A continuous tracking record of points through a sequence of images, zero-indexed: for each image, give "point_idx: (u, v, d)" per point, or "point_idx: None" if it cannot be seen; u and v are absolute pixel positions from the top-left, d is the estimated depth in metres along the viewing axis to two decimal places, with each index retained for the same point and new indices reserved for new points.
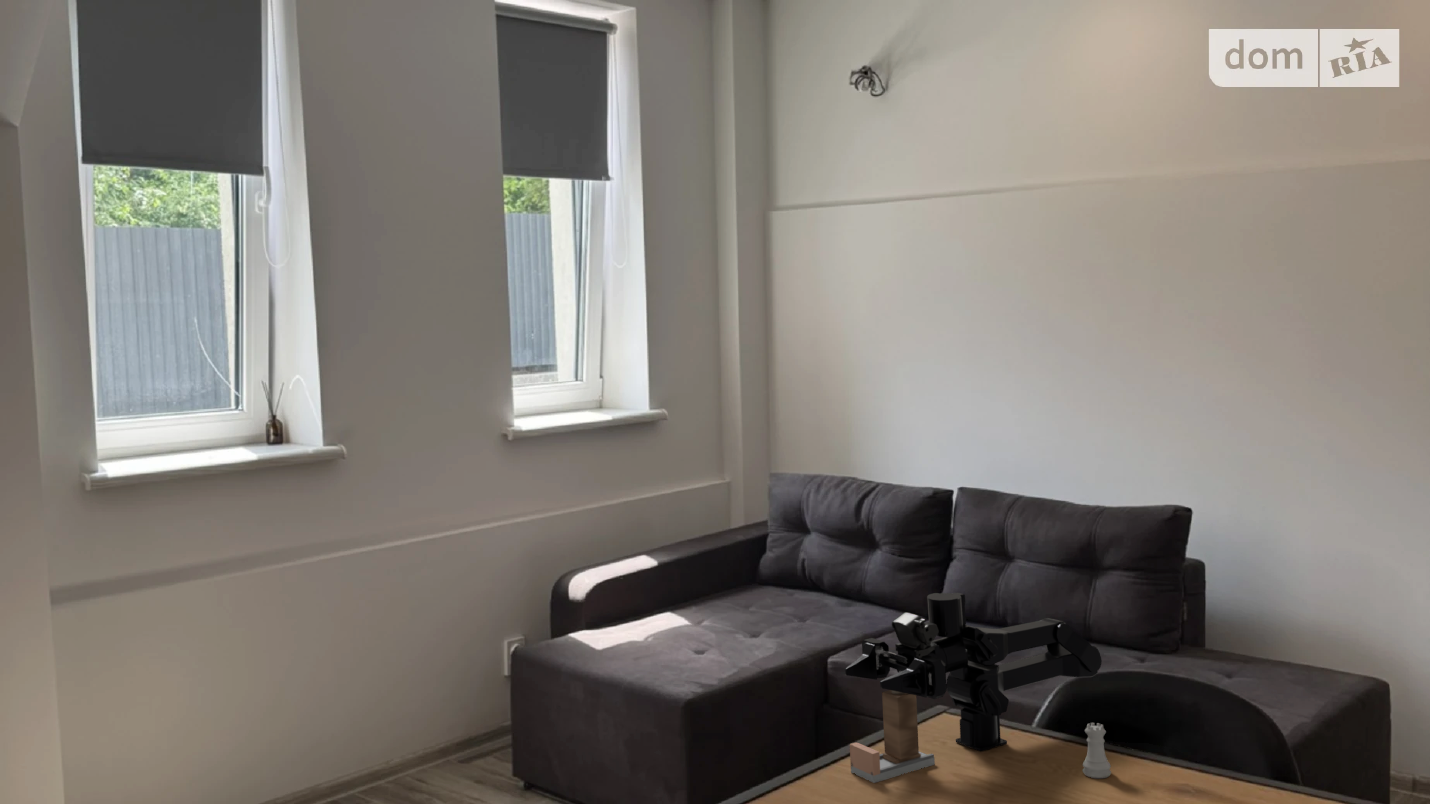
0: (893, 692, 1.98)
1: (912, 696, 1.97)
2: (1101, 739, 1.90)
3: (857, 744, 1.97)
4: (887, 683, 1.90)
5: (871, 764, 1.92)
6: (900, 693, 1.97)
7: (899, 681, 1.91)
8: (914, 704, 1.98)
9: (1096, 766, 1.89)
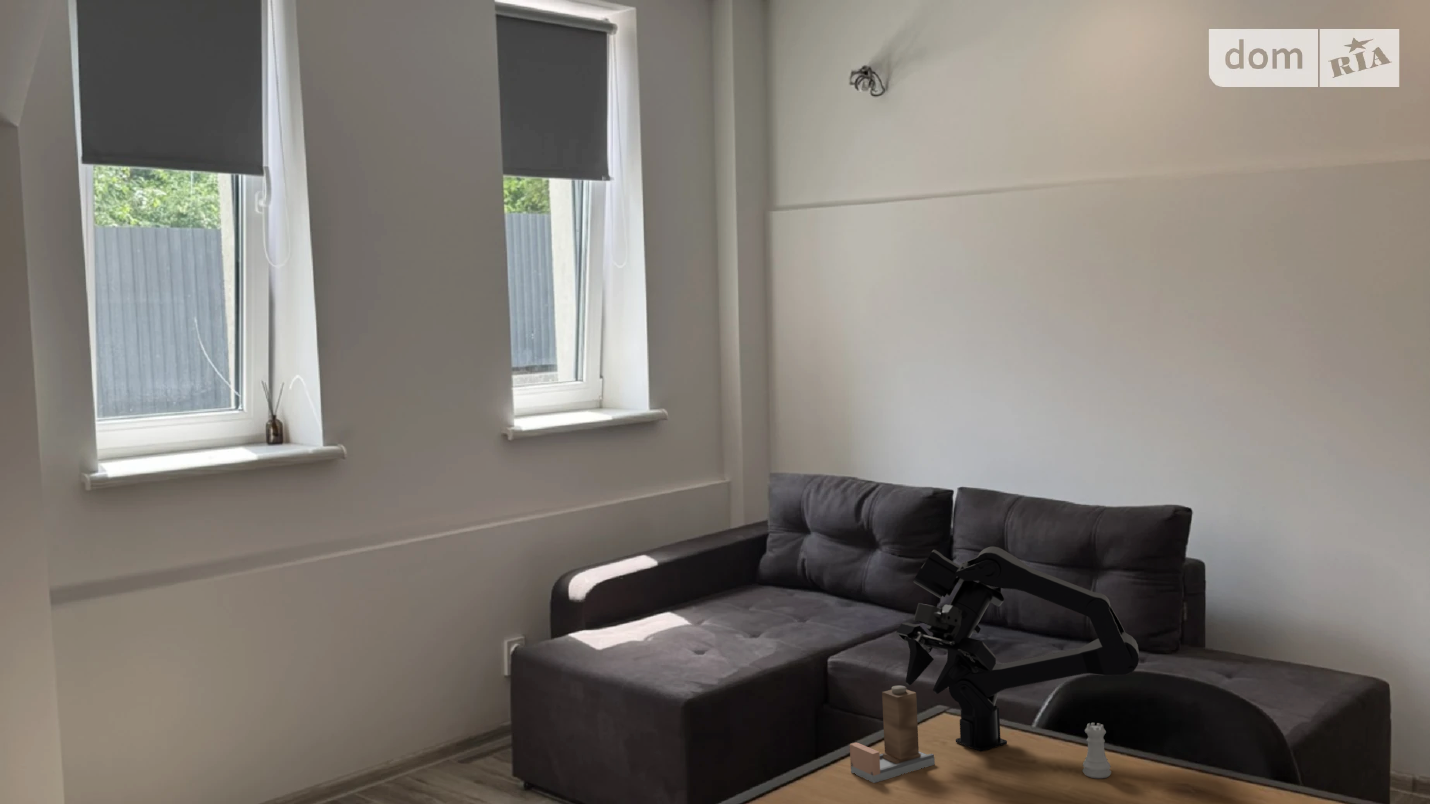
0: (893, 692, 1.98)
1: (912, 696, 1.97)
2: (1101, 739, 1.90)
3: (857, 744, 1.97)
4: (939, 687, 1.97)
5: (871, 764, 1.92)
6: (900, 693, 1.97)
7: (947, 678, 1.97)
8: (914, 704, 1.98)
9: (1096, 766, 1.89)
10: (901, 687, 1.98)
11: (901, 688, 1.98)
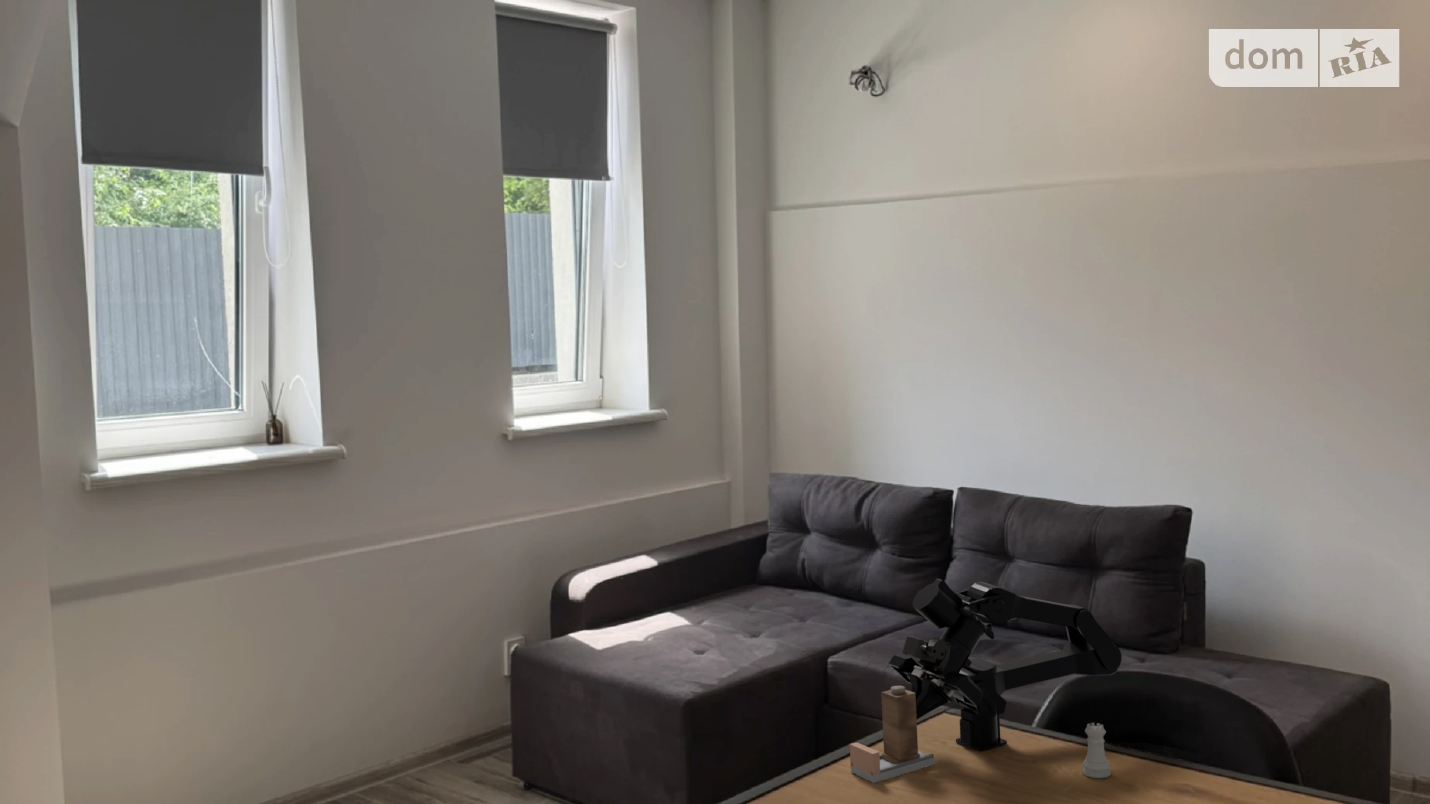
0: (892, 692, 1.98)
1: (911, 696, 1.97)
2: (1101, 739, 1.90)
3: (857, 744, 1.97)
4: None
5: (871, 764, 1.92)
6: (899, 693, 1.97)
7: (922, 707, 2.00)
8: (914, 704, 1.98)
9: (1096, 766, 1.89)
10: (900, 687, 1.98)
11: (900, 688, 1.98)
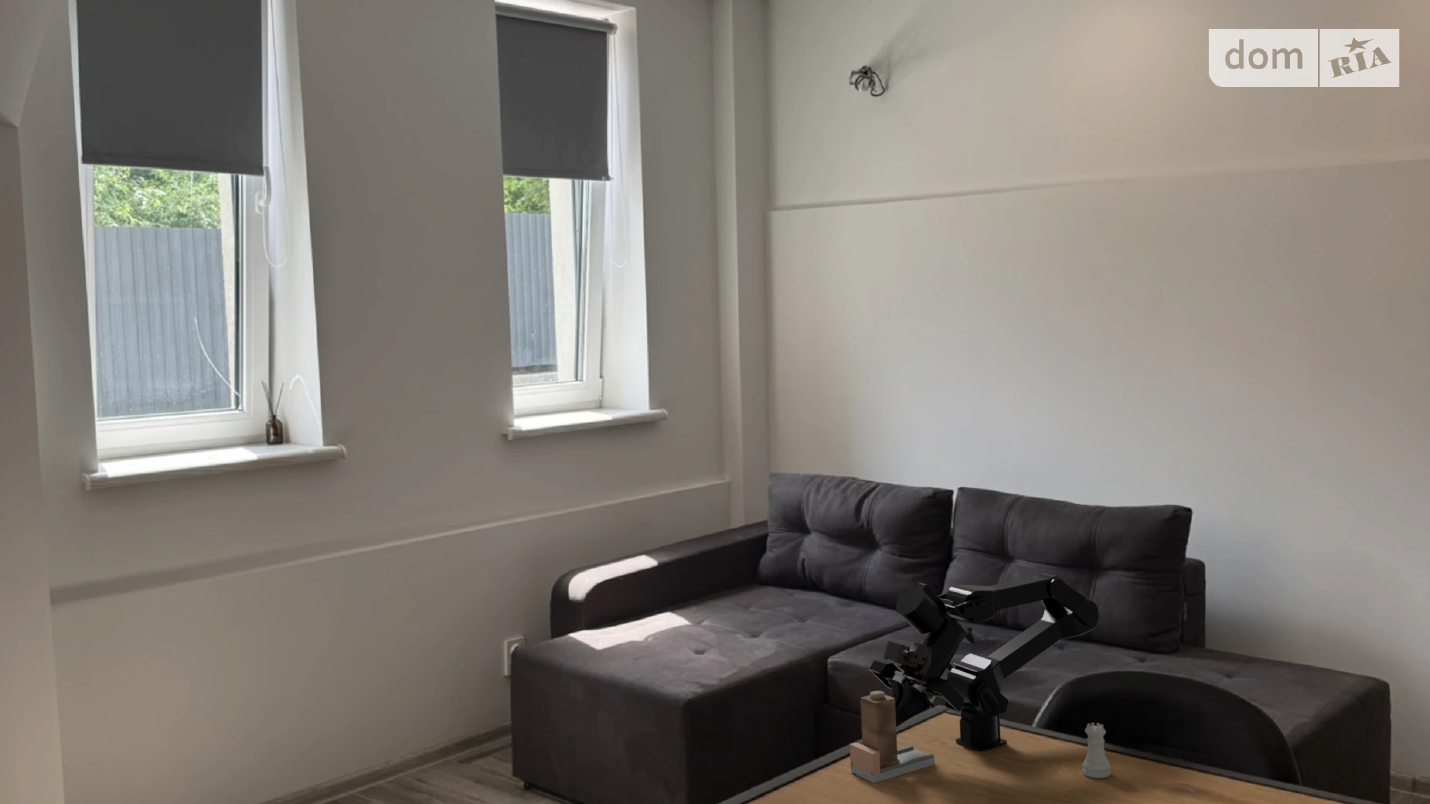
0: (871, 698, 1.95)
1: (891, 702, 1.95)
2: (1101, 739, 1.90)
3: (857, 744, 1.97)
4: None
5: (871, 764, 1.92)
6: (878, 699, 1.95)
7: (903, 713, 1.97)
8: (893, 709, 1.95)
9: (1096, 766, 1.89)
10: (880, 692, 1.96)
11: (880, 693, 1.96)
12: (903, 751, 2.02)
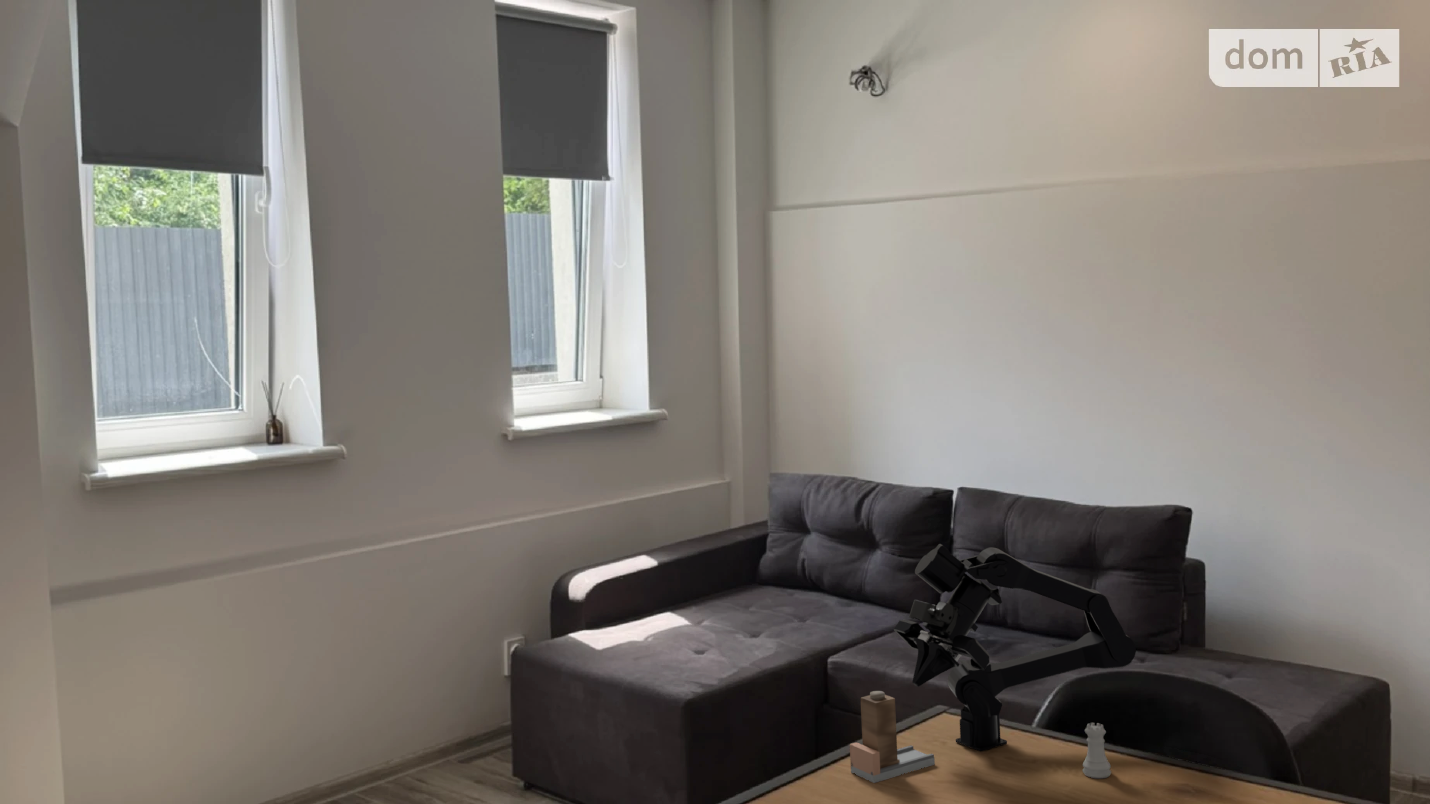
0: (871, 698, 1.95)
1: (891, 702, 1.95)
2: (1101, 739, 1.90)
3: (857, 744, 1.97)
4: (920, 680, 2.00)
5: (871, 764, 1.92)
6: (878, 699, 1.95)
7: (929, 671, 2.00)
8: (893, 709, 1.95)
9: (1096, 766, 1.89)
10: (880, 692, 1.96)
11: (880, 693, 1.96)
12: (903, 751, 2.02)
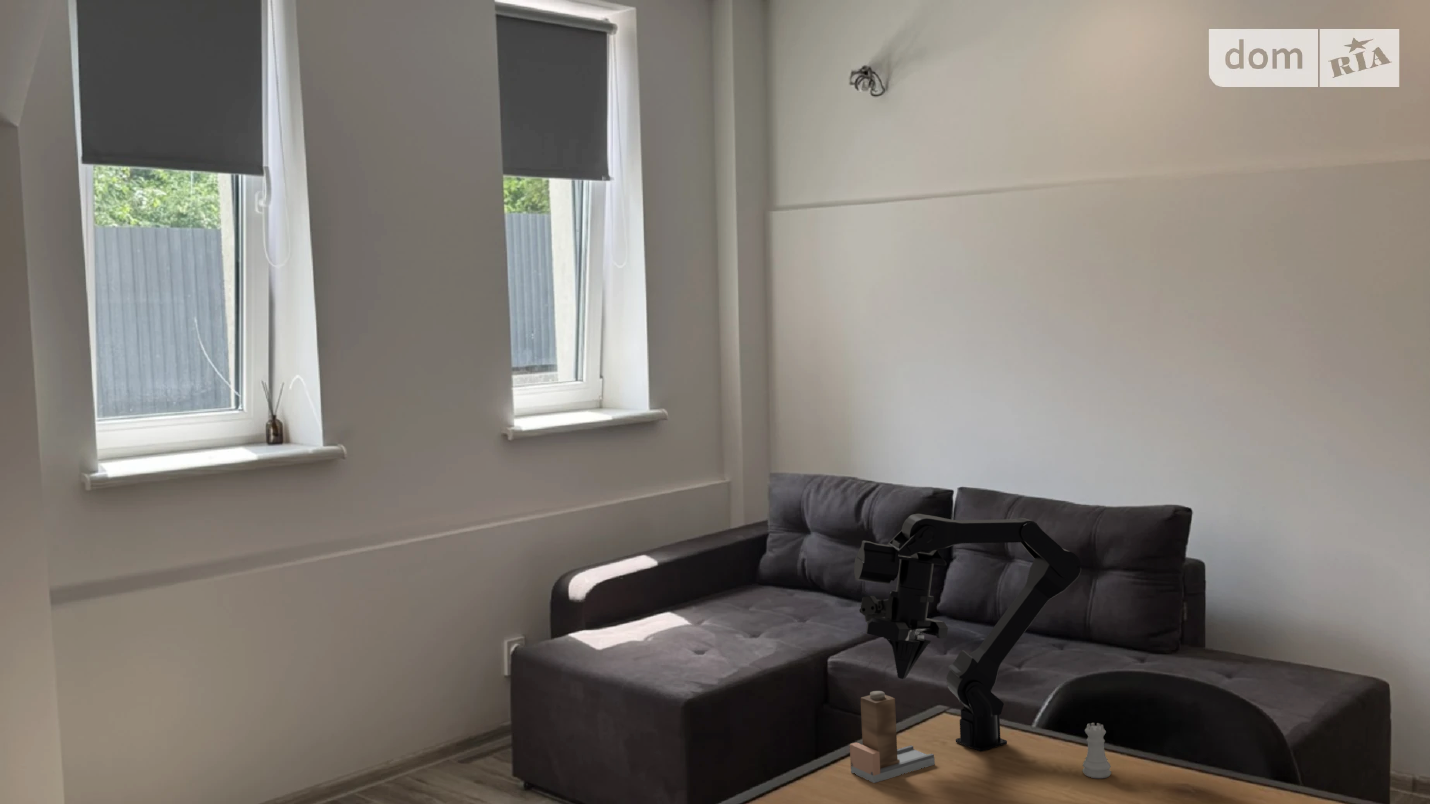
0: (871, 698, 1.95)
1: (891, 702, 1.95)
2: (1101, 739, 1.90)
3: (857, 744, 1.97)
4: (899, 672, 2.04)
5: (871, 764, 1.92)
6: (878, 699, 1.95)
7: (899, 661, 2.03)
8: (893, 709, 1.95)
9: (1096, 766, 1.89)
10: (880, 692, 1.96)
11: (880, 693, 1.96)
12: (903, 751, 2.02)
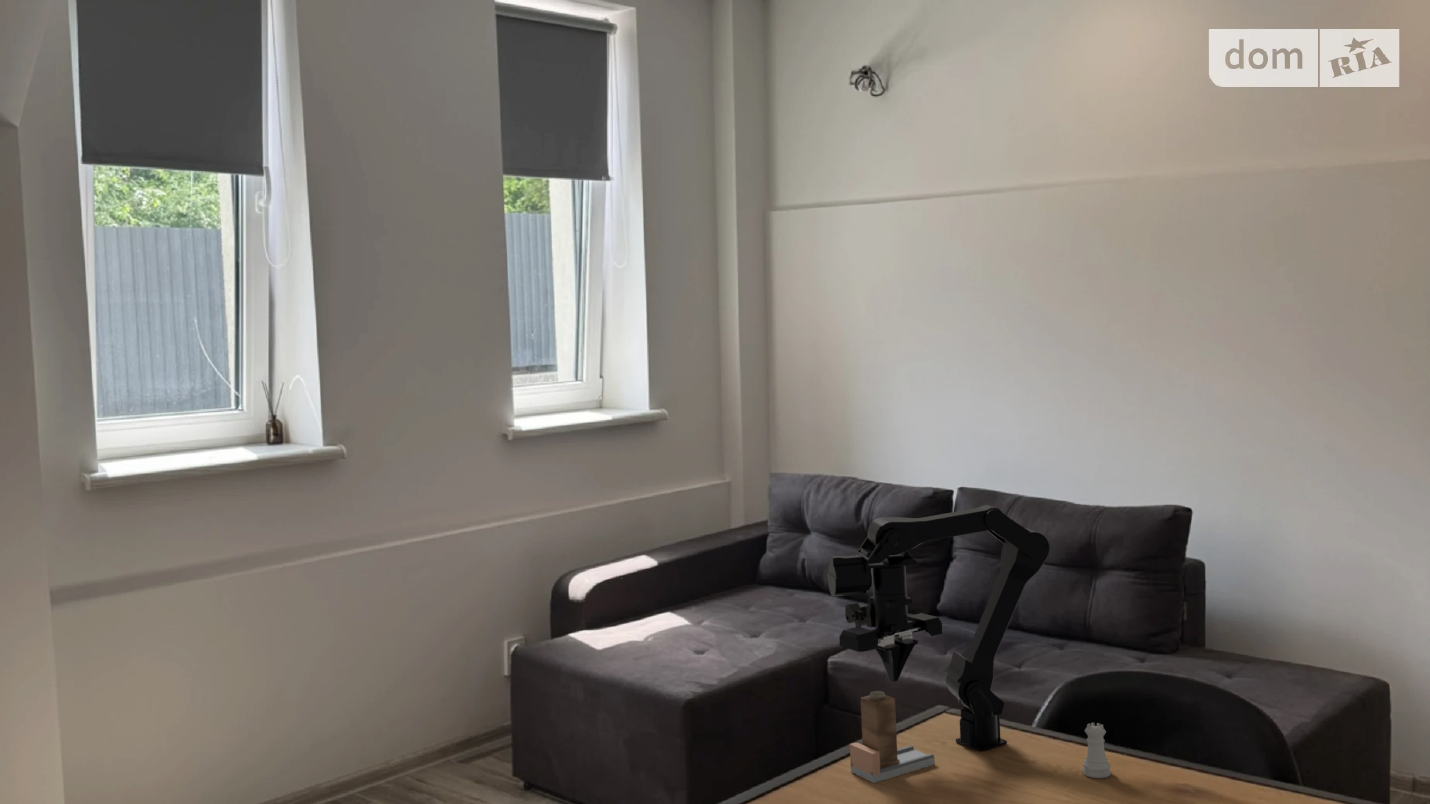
0: (871, 698, 1.95)
1: (891, 702, 1.95)
2: (1101, 739, 1.90)
3: (857, 744, 1.97)
4: (889, 676, 2.05)
5: (871, 764, 1.92)
6: (878, 699, 1.95)
7: (886, 665, 2.04)
8: (893, 709, 1.95)
9: (1096, 766, 1.89)
10: (880, 692, 1.96)
11: (880, 693, 1.96)
12: (903, 751, 2.02)
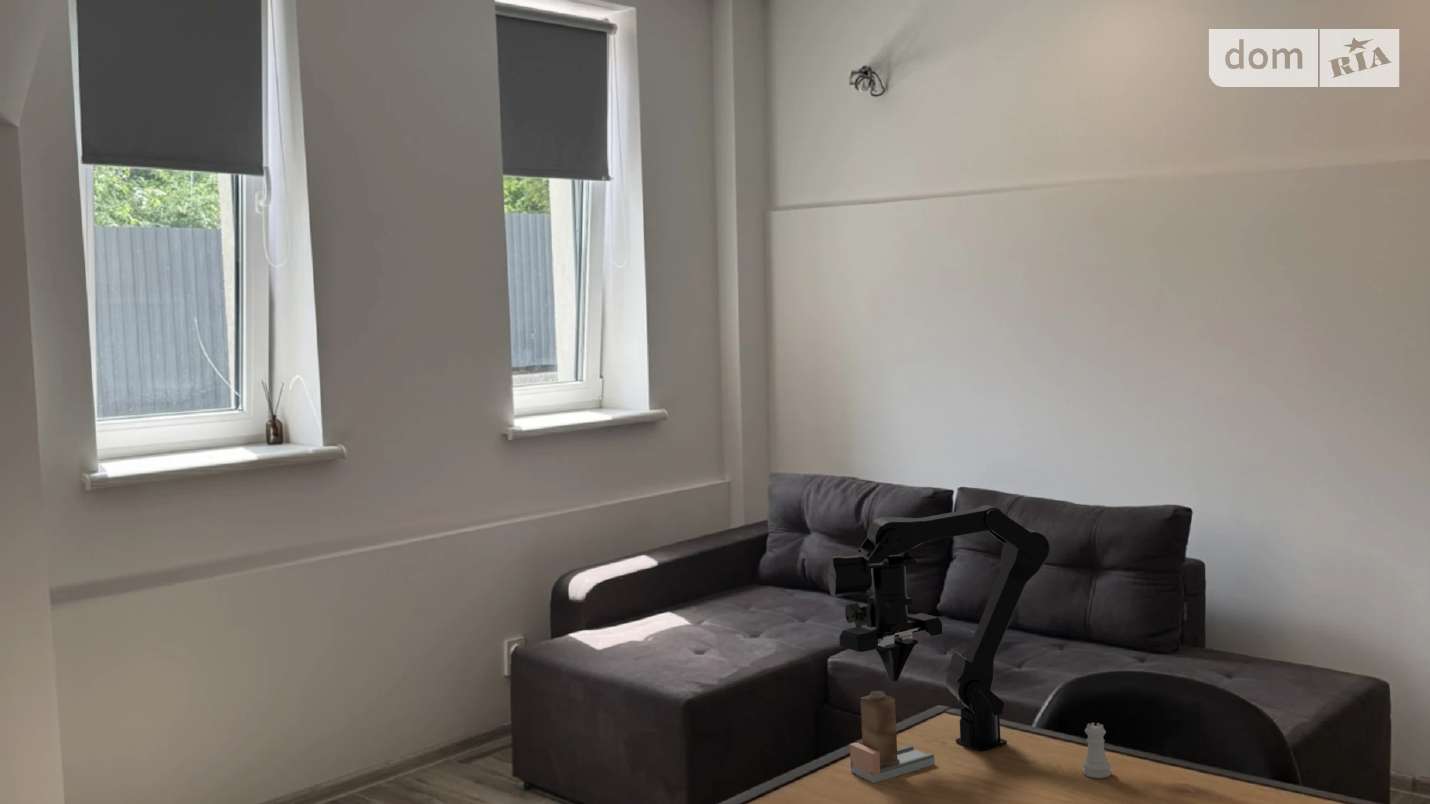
0: (871, 698, 1.95)
1: (891, 702, 1.95)
2: (1101, 739, 1.90)
3: (857, 744, 1.97)
4: (889, 676, 2.05)
5: (871, 764, 1.92)
6: (878, 699, 1.95)
7: (886, 665, 2.04)
8: (893, 709, 1.95)
9: (1096, 766, 1.89)
10: (880, 692, 1.96)
11: (880, 693, 1.96)
12: (903, 751, 2.02)
